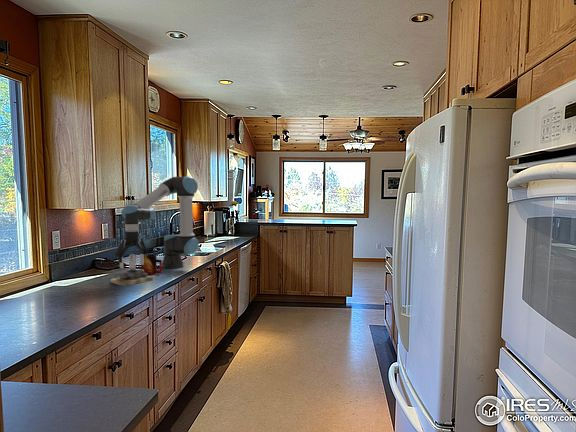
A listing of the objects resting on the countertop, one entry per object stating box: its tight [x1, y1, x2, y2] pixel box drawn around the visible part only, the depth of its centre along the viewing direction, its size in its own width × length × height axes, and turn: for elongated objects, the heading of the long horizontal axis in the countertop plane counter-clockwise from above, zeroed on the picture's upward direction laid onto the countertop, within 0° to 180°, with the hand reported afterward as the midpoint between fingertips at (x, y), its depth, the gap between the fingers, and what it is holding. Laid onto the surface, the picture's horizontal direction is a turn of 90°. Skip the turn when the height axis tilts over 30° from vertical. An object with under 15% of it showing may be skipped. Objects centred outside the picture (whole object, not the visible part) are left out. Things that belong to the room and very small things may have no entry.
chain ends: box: [110, 268, 154, 287], centre depth 231 cm, size 19×14×6 cm
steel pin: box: [128, 253, 137, 273], centre depth 231 cm, size 4×4×14 cm
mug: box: [140, 254, 163, 276], centre depth 253 cm, size 10×14×12 cm
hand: (132, 266), depth 231 cm, fingers open, 13 cm apart
